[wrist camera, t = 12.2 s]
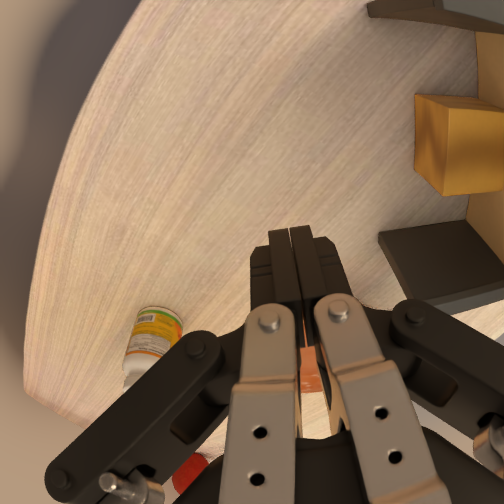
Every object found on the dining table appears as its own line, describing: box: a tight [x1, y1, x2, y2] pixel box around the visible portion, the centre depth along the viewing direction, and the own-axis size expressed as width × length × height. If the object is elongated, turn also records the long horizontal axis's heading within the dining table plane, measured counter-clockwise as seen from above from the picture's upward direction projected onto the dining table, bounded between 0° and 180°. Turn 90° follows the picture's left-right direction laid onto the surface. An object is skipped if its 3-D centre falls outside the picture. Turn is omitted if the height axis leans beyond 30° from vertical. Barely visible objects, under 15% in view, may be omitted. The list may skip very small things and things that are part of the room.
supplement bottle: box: [122, 307, 183, 393], centre depth 30 cm, size 5×5×10 cm
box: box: [414, 94, 504, 196], centre depth 19 cm, size 6×6×5 cm
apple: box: [172, 453, 209, 495], centre depth 60 cm, size 10×10×14 cm
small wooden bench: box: [367, 0, 504, 315], centre depth 14 cm, size 11×21×16 cm, turn 10°
